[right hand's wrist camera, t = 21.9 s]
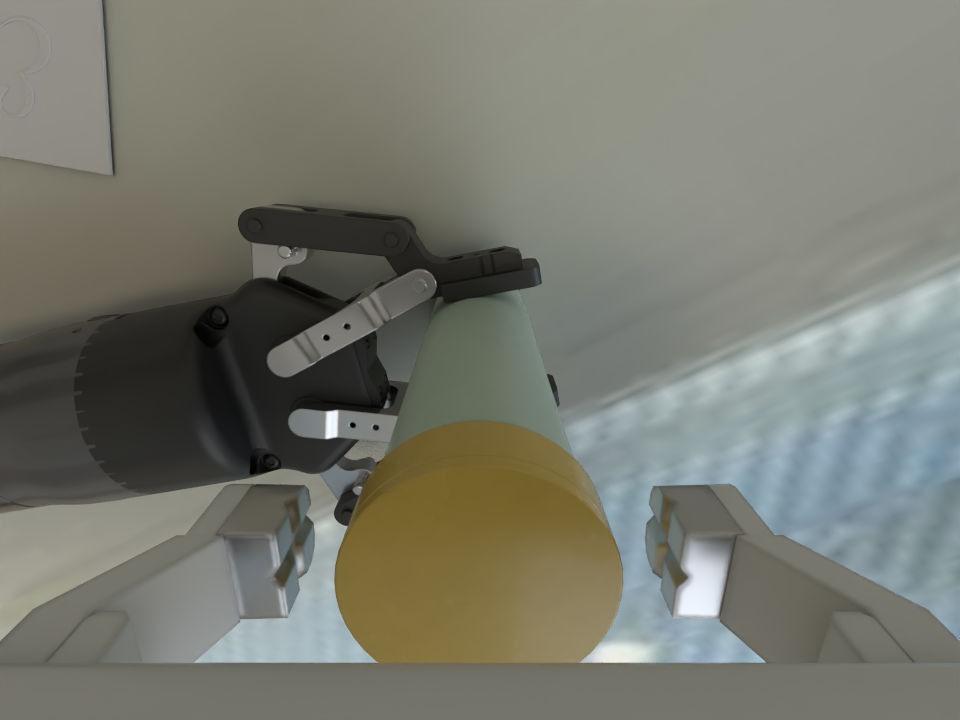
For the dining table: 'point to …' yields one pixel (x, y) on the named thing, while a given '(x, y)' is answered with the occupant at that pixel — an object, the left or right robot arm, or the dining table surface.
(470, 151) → the dining table surface
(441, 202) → the dining table surface
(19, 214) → the dining table surface
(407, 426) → the mint green bottle
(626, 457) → the dining table surface
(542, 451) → the lid
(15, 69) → the invitation card
